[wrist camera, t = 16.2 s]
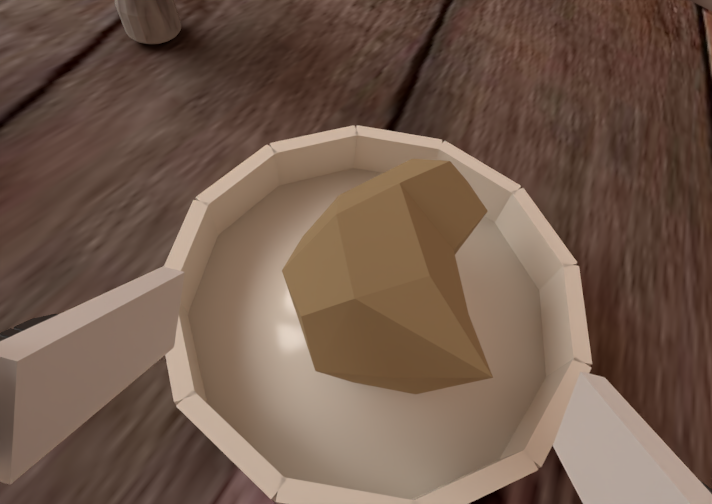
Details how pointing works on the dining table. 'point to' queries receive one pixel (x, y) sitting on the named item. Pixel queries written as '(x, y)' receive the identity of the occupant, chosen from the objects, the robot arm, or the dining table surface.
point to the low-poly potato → (391, 282)
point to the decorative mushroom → (149, 20)
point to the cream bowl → (353, 400)
